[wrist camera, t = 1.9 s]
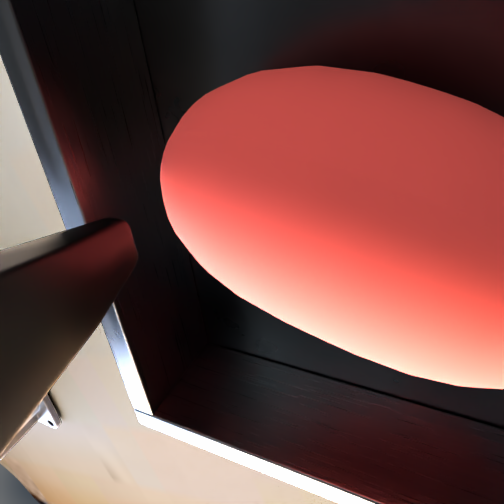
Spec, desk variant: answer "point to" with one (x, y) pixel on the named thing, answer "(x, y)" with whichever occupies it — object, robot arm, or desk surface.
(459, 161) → the stress ball
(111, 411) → the desk surface
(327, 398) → the dark grey square tray
